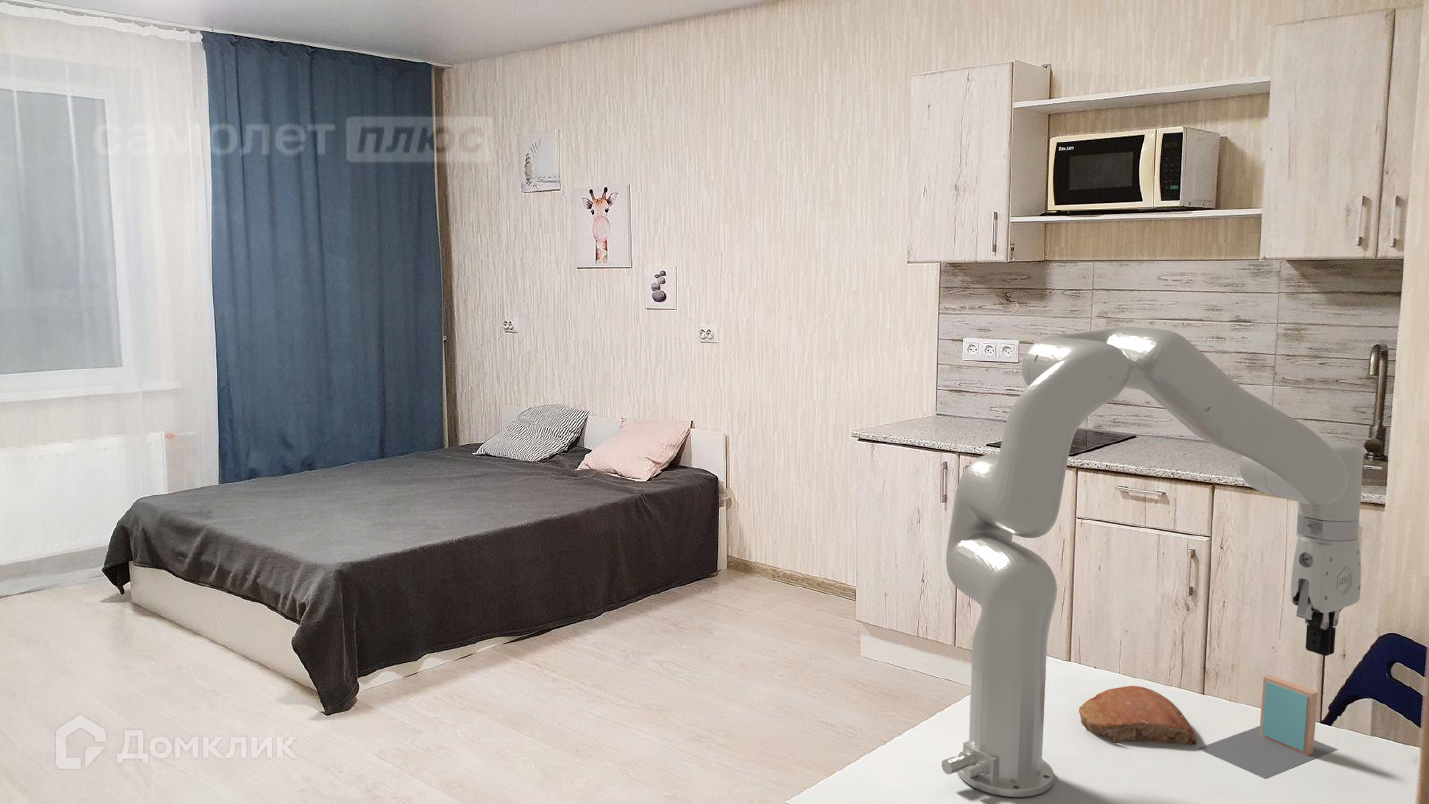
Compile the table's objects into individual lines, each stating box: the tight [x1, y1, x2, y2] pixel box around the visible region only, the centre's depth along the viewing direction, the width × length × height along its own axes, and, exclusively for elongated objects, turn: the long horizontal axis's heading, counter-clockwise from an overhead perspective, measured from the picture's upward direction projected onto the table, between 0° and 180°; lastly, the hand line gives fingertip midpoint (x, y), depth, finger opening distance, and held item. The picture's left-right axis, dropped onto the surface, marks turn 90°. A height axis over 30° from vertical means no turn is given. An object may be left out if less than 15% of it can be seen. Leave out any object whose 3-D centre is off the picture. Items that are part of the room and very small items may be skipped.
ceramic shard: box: [1078, 685, 1198, 746], centre depth 153 cm, size 15×6×15 cm
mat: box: [1197, 725, 1339, 780], centre depth 145 cm, size 17×10×1 cm, turn 120°
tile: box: [1259, 674, 1319, 756], centre depth 145 cm, size 2×7×9 cm, turn 30°
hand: (1319, 651), depth 148 cm, fingers closed
